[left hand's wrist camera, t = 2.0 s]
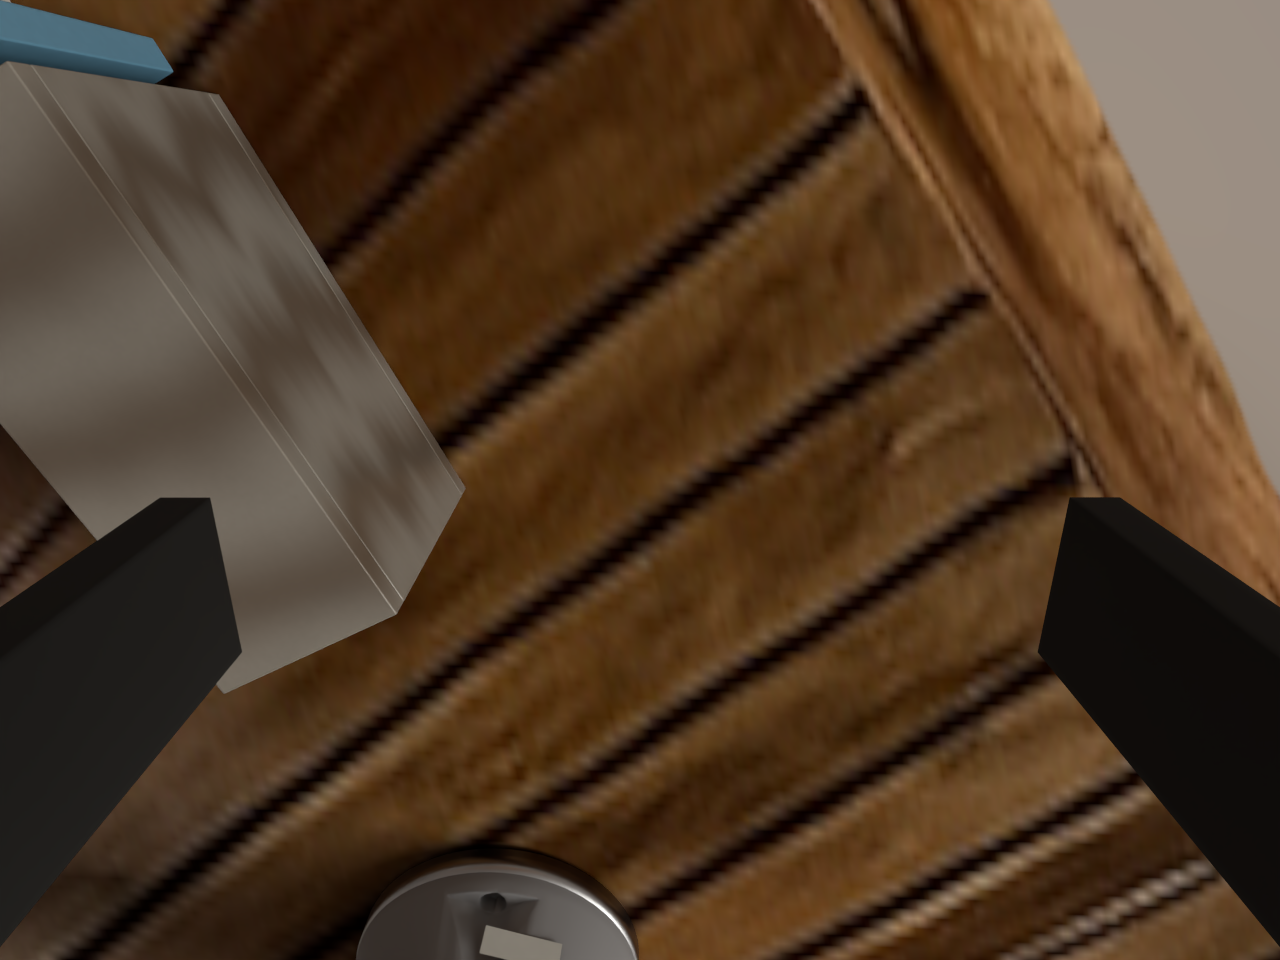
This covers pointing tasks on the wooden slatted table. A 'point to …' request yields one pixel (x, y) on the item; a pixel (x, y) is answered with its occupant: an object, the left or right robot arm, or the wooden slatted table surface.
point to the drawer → (77, 45)
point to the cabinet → (203, 359)
